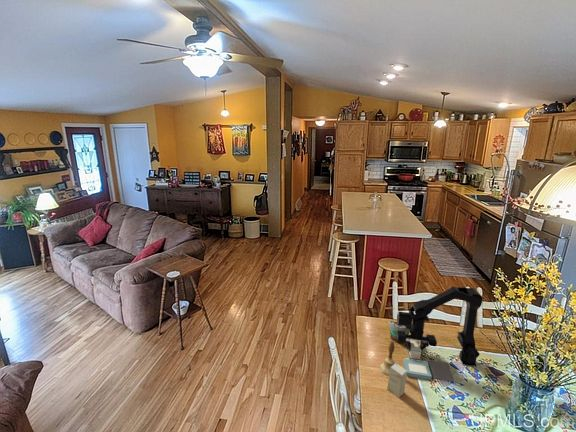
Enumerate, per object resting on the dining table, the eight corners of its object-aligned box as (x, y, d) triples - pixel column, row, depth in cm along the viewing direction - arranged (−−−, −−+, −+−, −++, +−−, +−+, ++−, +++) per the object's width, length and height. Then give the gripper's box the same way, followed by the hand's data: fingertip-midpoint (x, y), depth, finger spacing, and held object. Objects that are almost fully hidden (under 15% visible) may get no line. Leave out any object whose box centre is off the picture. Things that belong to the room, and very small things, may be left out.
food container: (385, 340, 172) (387, 324, 169) (387, 333, 177) (389, 318, 175) (408, 347, 167) (410, 331, 164) (410, 340, 172) (412, 325, 169)
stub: (417, 350, 164) (418, 341, 162) (419, 359, 157) (421, 350, 156) (408, 348, 165) (409, 340, 163) (410, 357, 158) (411, 348, 157)
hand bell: (397, 365, 153) (401, 338, 149) (397, 377, 146) (400, 349, 141) (380, 361, 156) (383, 334, 152) (379, 372, 149) (382, 344, 144)
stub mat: (447, 363, 155) (448, 362, 155) (454, 381, 144) (455, 380, 144) (427, 360, 157) (427, 359, 157) (433, 378, 146) (433, 377, 146)
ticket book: (426, 364, 154) (427, 361, 153) (431, 380, 145) (431, 376, 144) (403, 361, 156) (404, 357, 156) (406, 375, 147) (407, 372, 146)
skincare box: (386, 389, 139) (389, 366, 136) (392, 384, 142) (395, 362, 139) (399, 398, 134) (402, 375, 131) (404, 393, 137) (408, 370, 134)
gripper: (433, 319, 162) (429, 344, 166) (396, 314, 166) (393, 339, 170) (439, 332, 152) (434, 358, 156) (399, 327, 156) (396, 353, 160)
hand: (414, 351), depth 161 cm, fingers closed on stub, 4 cm apart
